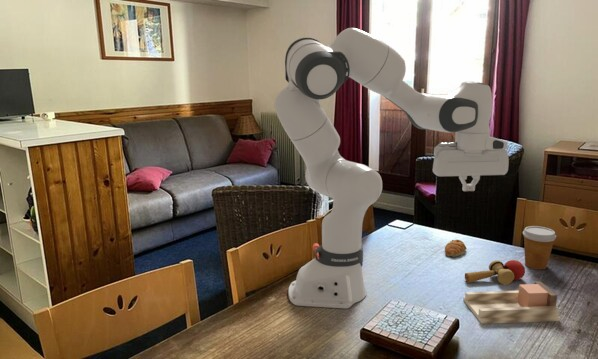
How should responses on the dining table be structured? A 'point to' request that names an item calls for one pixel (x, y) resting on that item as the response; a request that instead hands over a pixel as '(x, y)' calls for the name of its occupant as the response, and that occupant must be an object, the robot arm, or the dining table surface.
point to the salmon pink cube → (532, 295)
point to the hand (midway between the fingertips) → (468, 190)
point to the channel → (510, 307)
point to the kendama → (499, 272)
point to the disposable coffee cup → (538, 246)
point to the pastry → (455, 248)
